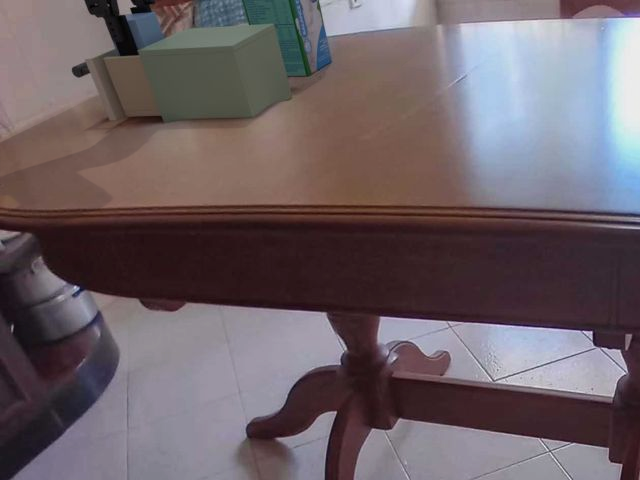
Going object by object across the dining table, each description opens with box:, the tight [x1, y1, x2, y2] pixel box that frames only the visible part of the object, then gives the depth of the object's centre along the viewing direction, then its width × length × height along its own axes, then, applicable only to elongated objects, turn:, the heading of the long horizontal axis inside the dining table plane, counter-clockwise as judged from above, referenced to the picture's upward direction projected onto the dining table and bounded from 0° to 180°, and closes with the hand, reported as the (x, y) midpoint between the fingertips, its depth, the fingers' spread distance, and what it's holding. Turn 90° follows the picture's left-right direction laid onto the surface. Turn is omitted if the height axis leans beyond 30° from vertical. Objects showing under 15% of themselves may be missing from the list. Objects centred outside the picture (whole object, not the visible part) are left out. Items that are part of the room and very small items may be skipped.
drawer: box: [71, 46, 162, 121], centre depth 105 cm, size 18×11×9 cm, turn 78°
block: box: [104, 11, 166, 56], centre depth 102 cm, size 5×5×6 cm
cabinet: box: [138, 24, 293, 124], centre depth 103 cm, size 15×13×11 cm
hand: (144, 58), depth 104 cm, fingers closed on block, 5 cm apart
